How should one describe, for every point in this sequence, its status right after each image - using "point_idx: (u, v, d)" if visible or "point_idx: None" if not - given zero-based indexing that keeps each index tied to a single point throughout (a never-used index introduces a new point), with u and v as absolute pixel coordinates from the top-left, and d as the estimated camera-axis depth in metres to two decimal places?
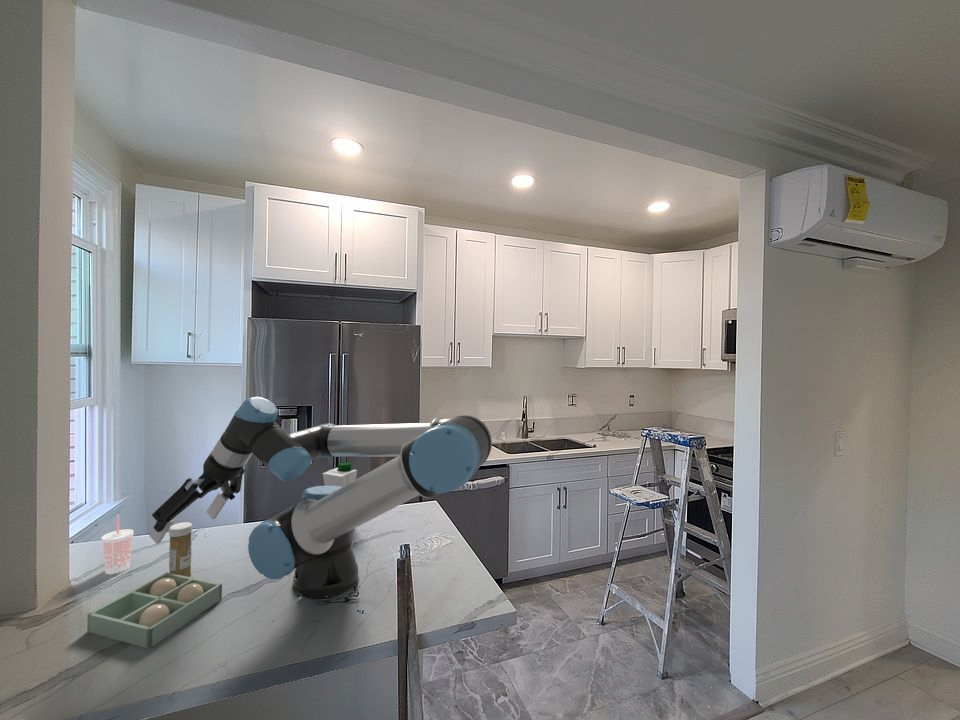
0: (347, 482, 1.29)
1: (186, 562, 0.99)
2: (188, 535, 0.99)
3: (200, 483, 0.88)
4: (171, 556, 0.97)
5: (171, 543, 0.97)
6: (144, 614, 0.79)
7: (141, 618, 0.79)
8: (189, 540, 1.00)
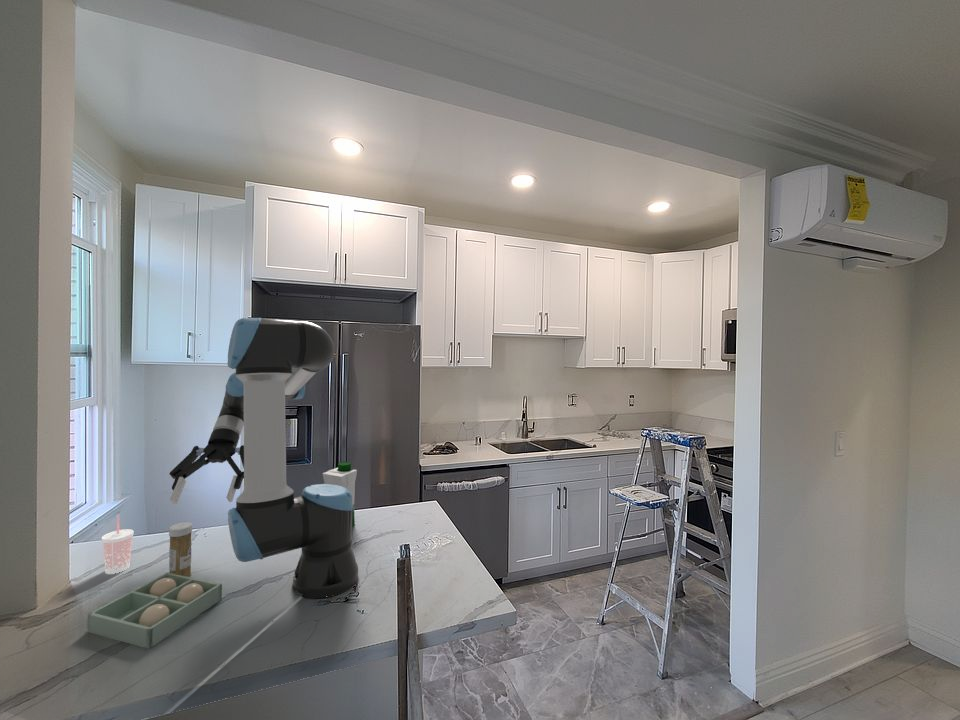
0: (347, 482, 1.29)
1: (186, 562, 0.99)
2: (188, 535, 0.99)
3: (203, 449, 1.19)
4: (171, 556, 0.97)
5: (171, 543, 0.97)
6: (144, 614, 0.79)
7: (141, 618, 0.79)
8: (189, 540, 1.00)
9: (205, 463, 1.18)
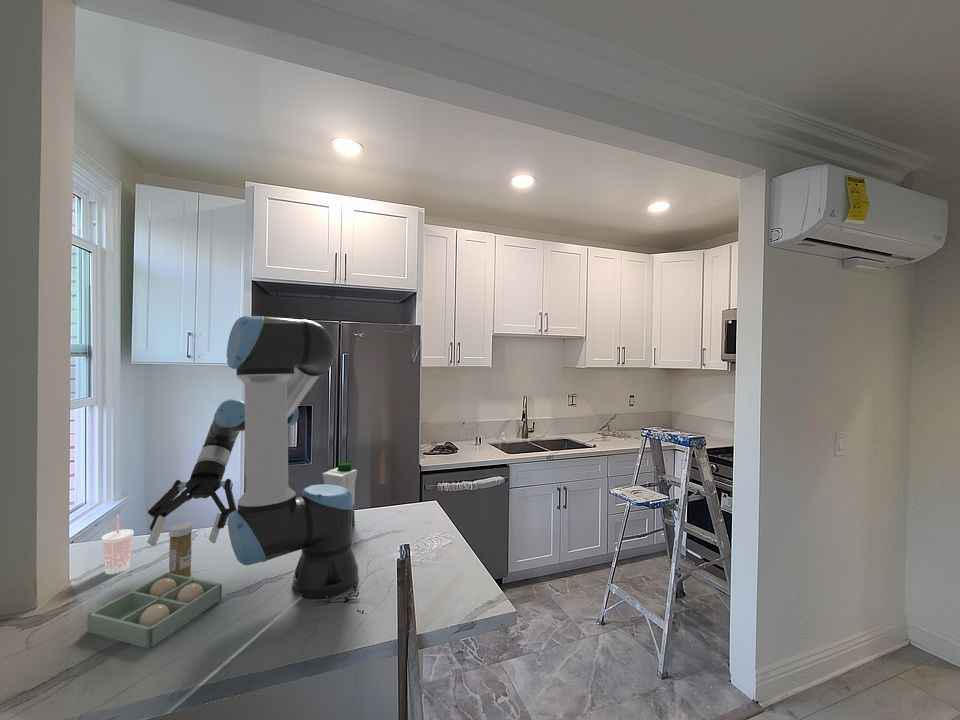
0: (347, 482, 1.29)
1: (186, 562, 0.99)
2: (188, 535, 0.99)
3: (185, 483, 1.11)
4: (171, 556, 0.97)
5: (171, 543, 0.97)
6: (144, 614, 0.79)
7: (141, 618, 0.79)
8: (189, 540, 1.00)
9: (187, 499, 1.09)
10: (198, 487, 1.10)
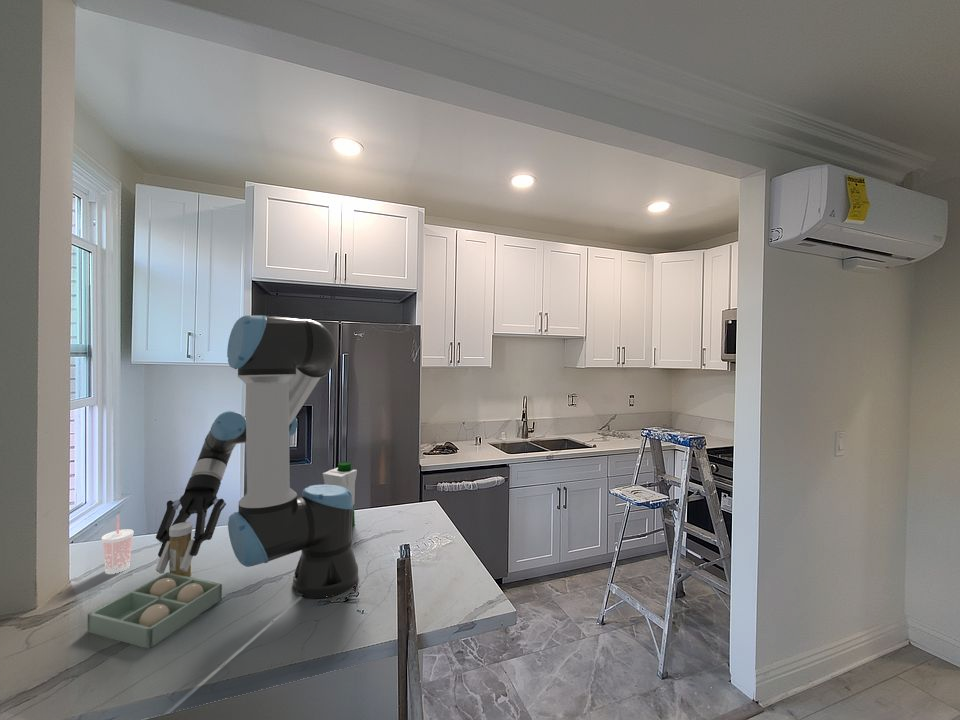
0: (347, 482, 1.29)
1: None
2: (188, 535, 0.99)
3: (178, 501, 1.06)
4: (171, 556, 0.97)
5: (171, 543, 0.97)
6: (144, 614, 0.79)
7: (141, 618, 0.79)
8: (189, 540, 1.00)
9: (187, 516, 1.05)
10: (194, 501, 1.06)
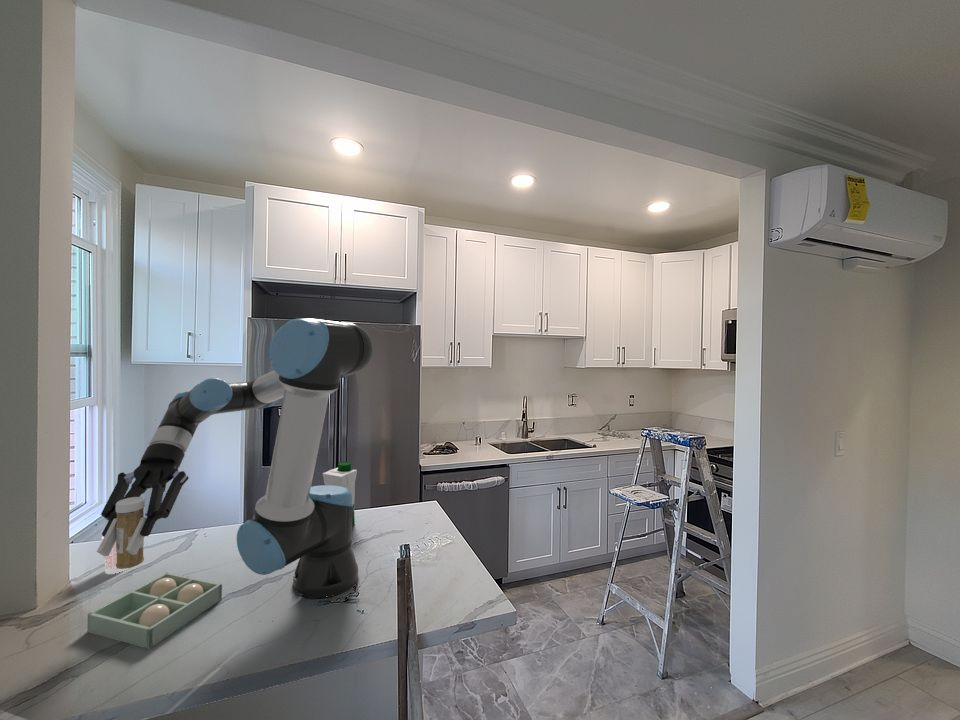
0: (347, 482, 1.29)
1: None
2: (139, 511, 0.84)
3: (132, 473, 0.91)
4: (118, 536, 0.82)
5: (118, 520, 0.82)
6: (144, 614, 0.79)
7: (141, 618, 0.79)
8: (140, 517, 0.84)
9: (142, 491, 0.90)
10: (150, 473, 0.91)
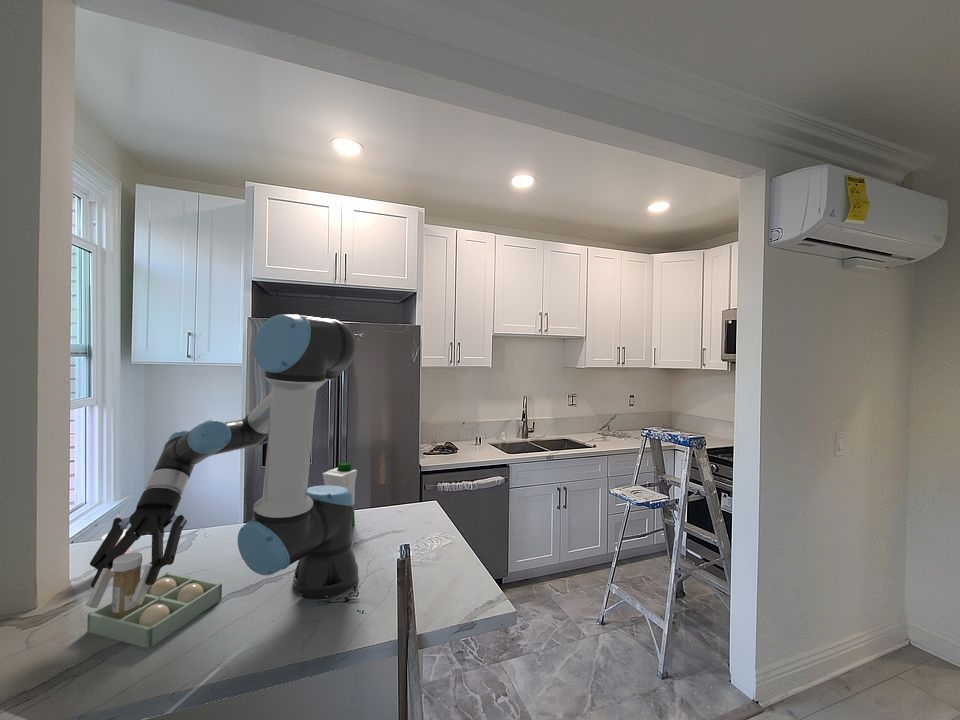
0: (347, 482, 1.29)
1: None
2: (136, 569, 0.83)
3: (128, 519, 0.90)
4: (114, 595, 0.81)
5: (114, 579, 0.81)
6: (144, 614, 0.79)
7: (141, 618, 0.79)
8: (137, 575, 0.83)
9: (136, 538, 0.89)
10: (146, 520, 0.89)
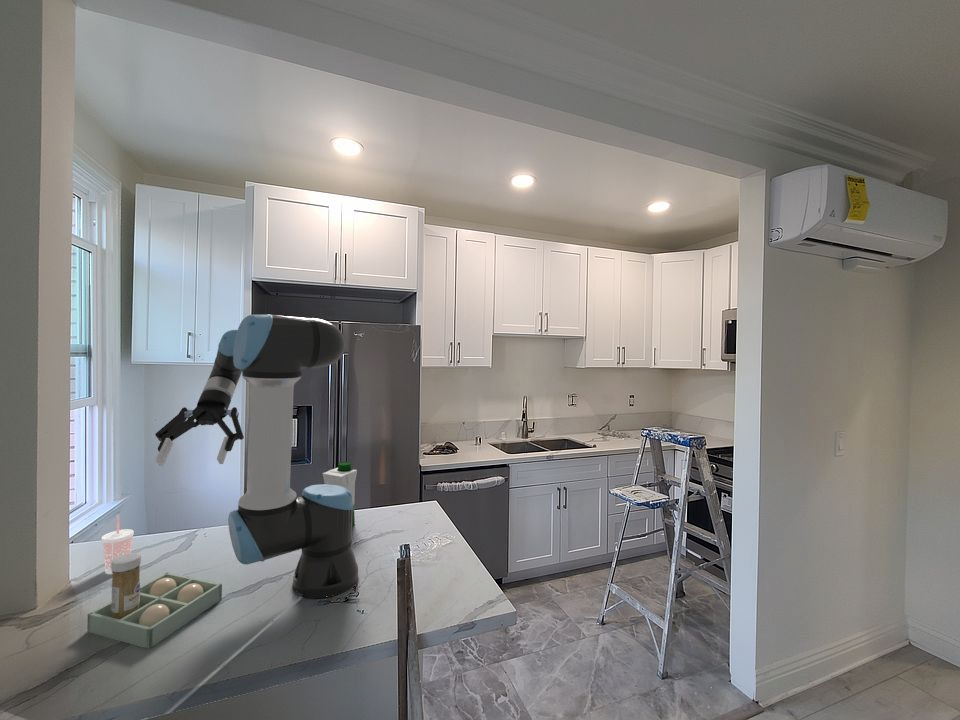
0: (347, 482, 1.29)
1: (132, 601, 0.82)
2: (135, 569, 0.82)
3: (191, 411, 1.12)
4: (113, 595, 0.81)
5: (113, 579, 0.81)
6: (144, 614, 0.79)
7: (141, 618, 0.79)
8: (136, 575, 0.83)
9: (194, 425, 1.10)
10: (205, 414, 1.11)
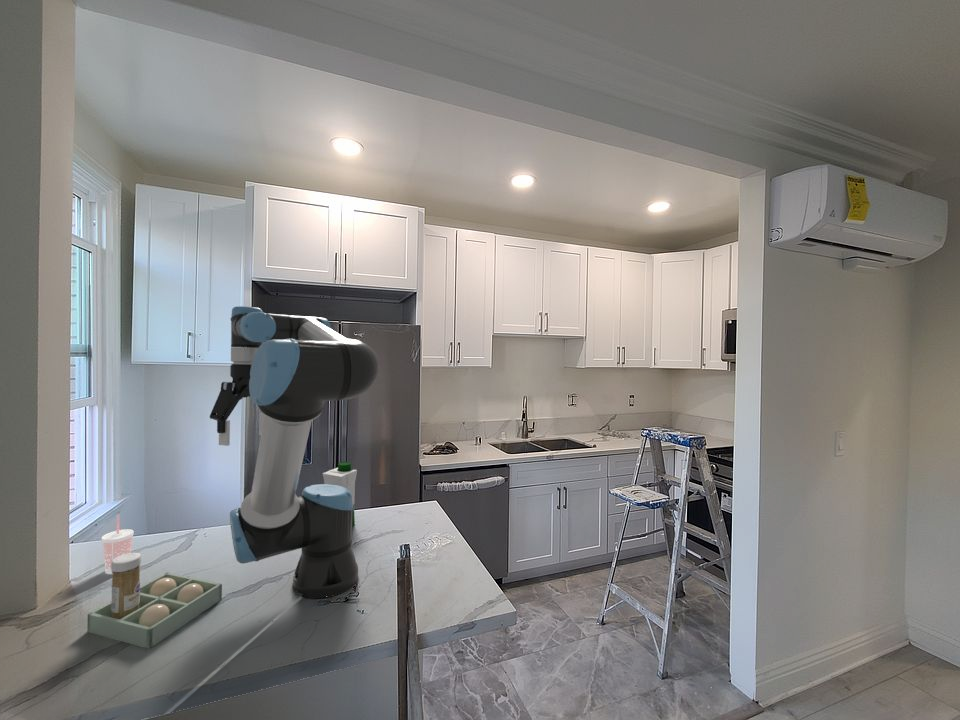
0: (347, 482, 1.29)
1: (132, 601, 0.82)
2: (135, 569, 0.83)
3: (234, 384, 1.08)
4: (113, 595, 0.81)
5: (113, 579, 0.81)
6: (144, 614, 0.79)
7: (141, 618, 0.79)
8: (136, 575, 0.83)
9: None
10: None
